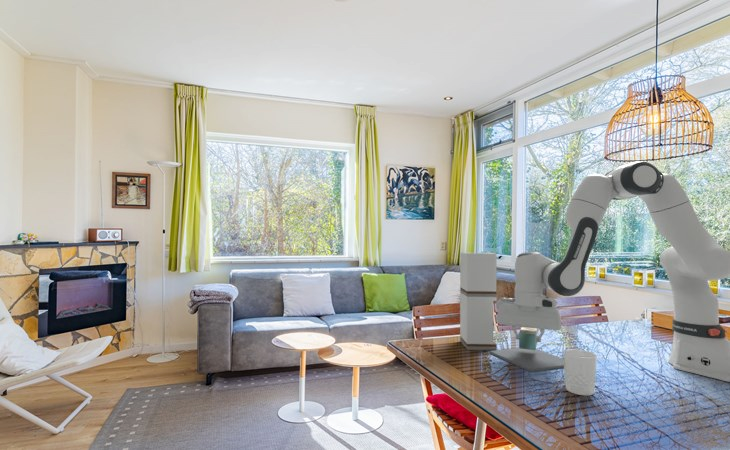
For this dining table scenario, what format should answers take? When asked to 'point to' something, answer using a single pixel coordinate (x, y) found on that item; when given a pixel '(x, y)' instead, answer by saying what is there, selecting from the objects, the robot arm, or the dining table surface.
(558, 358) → the rubber mat
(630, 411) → the dining table surface
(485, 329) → the grey square tower
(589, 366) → the white cup
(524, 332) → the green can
